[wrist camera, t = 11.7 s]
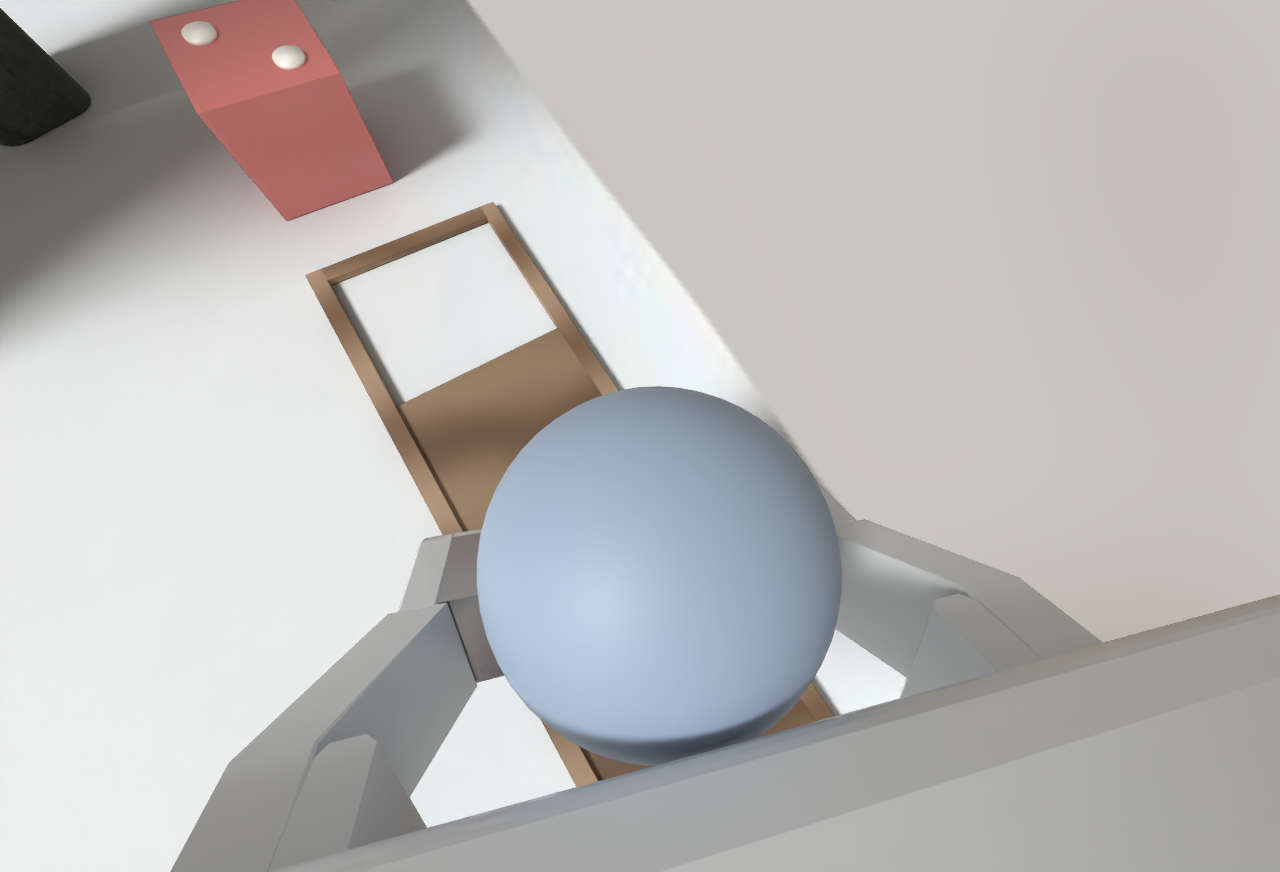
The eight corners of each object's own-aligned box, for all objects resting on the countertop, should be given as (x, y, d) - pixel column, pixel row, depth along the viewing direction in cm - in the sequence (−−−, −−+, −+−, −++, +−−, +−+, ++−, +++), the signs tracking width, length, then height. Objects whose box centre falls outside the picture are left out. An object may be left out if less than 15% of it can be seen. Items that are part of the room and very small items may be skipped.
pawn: (501, 574, 14) (229, 556, 3) (613, 463, 15) (671, 205, 5) (617, 694, 13) (737, 1147, 3) (722, 567, 14) (1070, 534, 4)
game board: (309, 280, 24) (305, 275, 23) (494, 207, 26) (493, 201, 26) (660, 940, 17) (662, 948, 17) (857, 755, 20) (862, 758, 20)
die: (244, 142, 26) (144, 15, 20) (349, 109, 27) (285, -17, 22) (286, 220, 25) (193, 110, 19) (393, 182, 26) (338, 69, 20)
